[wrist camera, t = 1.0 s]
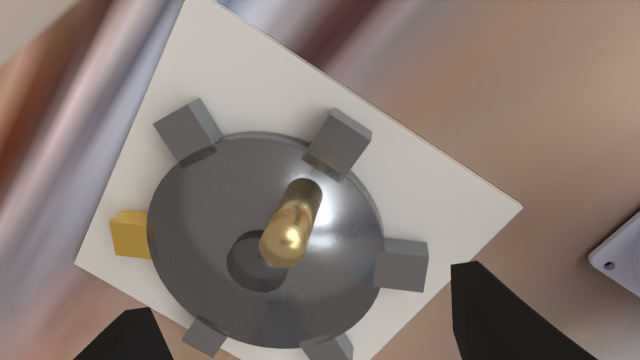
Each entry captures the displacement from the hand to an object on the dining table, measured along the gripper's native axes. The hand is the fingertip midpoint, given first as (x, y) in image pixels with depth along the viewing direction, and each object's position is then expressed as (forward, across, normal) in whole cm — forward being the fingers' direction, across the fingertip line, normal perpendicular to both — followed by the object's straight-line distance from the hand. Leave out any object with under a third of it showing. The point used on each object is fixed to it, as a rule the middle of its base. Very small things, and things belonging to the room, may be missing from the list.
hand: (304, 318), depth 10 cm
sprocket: (+13, +3, +6) cm, 15 cm away
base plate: (+13, +3, +6) cm, 15 cm away
